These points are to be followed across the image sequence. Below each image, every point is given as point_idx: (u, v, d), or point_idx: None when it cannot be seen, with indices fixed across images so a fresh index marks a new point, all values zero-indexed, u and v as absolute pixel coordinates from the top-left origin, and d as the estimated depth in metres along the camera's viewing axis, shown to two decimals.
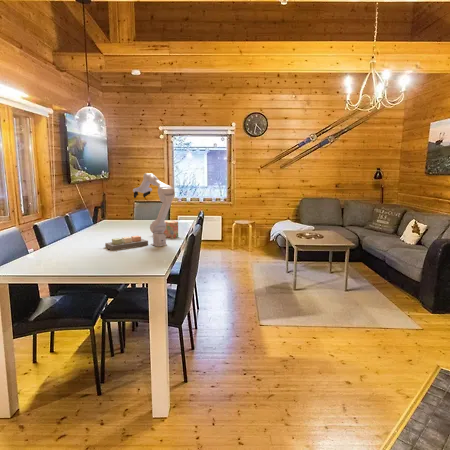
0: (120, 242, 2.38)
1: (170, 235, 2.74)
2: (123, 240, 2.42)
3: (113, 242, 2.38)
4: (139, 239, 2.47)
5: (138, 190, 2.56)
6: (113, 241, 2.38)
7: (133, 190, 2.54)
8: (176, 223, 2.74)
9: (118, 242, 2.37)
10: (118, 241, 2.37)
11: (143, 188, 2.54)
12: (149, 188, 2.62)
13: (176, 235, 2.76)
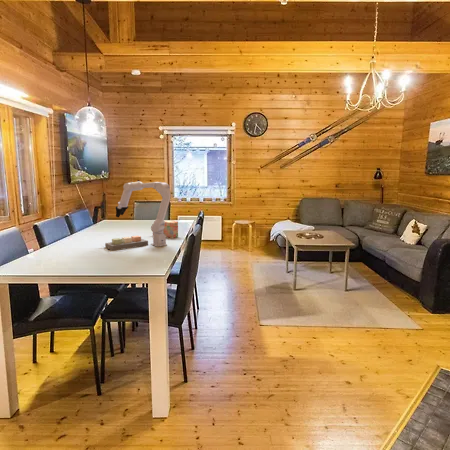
0: (120, 242, 2.38)
1: (170, 235, 2.74)
2: (123, 240, 2.42)
3: (113, 242, 2.38)
4: (139, 239, 2.47)
5: None
6: (113, 241, 2.38)
7: (119, 207, 2.44)
8: (176, 223, 2.74)
9: (118, 242, 2.37)
10: (118, 241, 2.37)
11: (127, 201, 2.48)
12: None
13: (176, 235, 2.76)
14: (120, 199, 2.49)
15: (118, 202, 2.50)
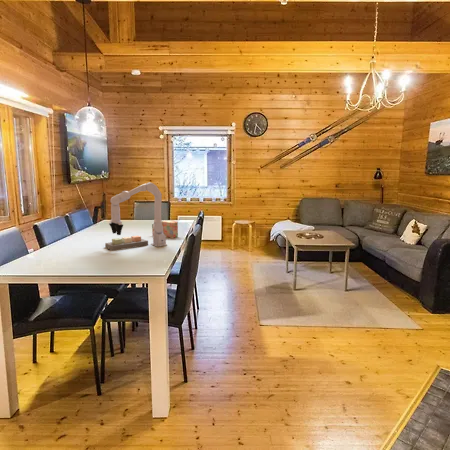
0: (120, 242, 2.38)
1: (170, 235, 2.74)
2: (123, 240, 2.42)
3: (113, 242, 2.38)
4: (139, 239, 2.47)
5: None
6: (113, 241, 2.38)
7: (120, 223, 2.32)
8: (176, 223, 2.74)
9: (118, 242, 2.37)
10: (118, 241, 2.37)
11: None
12: None
13: (176, 235, 2.76)
14: (112, 217, 2.34)
15: (111, 221, 2.35)
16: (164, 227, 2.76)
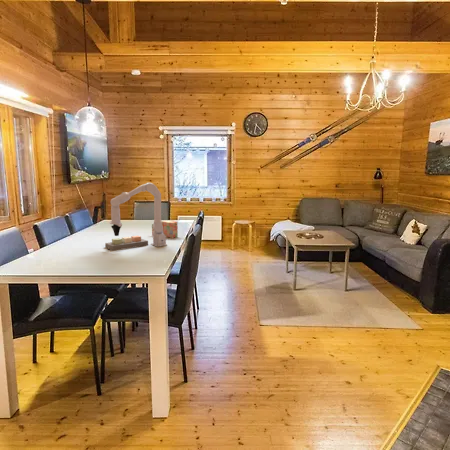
0: (120, 242, 2.38)
1: (169, 235, 2.74)
2: (123, 240, 2.42)
3: (113, 242, 2.38)
4: (139, 239, 2.47)
5: None
6: (113, 241, 2.38)
7: (120, 224, 2.32)
8: (175, 223, 2.74)
9: (118, 242, 2.37)
10: (118, 241, 2.37)
11: None
12: (111, 222, 2.41)
13: (175, 235, 2.76)
14: (112, 218, 2.34)
15: (111, 222, 2.35)
16: (164, 227, 2.76)
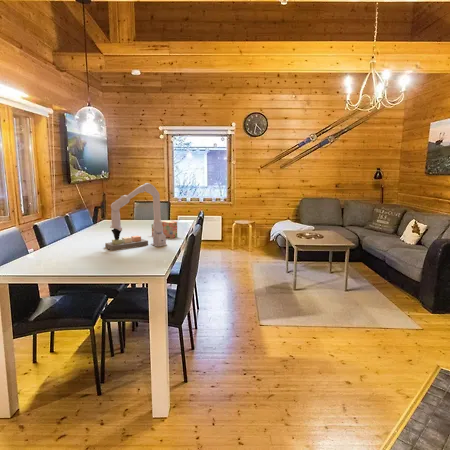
0: (120, 243, 2.38)
1: (169, 235, 2.74)
2: (123, 240, 2.42)
3: (113, 243, 2.38)
4: (139, 239, 2.47)
5: None
6: (113, 242, 2.38)
7: (120, 229, 2.32)
8: (175, 223, 2.74)
9: (118, 243, 2.38)
10: (118, 242, 2.37)
11: None
12: (112, 226, 2.42)
13: (175, 235, 2.75)
14: (112, 222, 2.35)
15: (111, 227, 2.35)
16: (163, 227, 2.75)
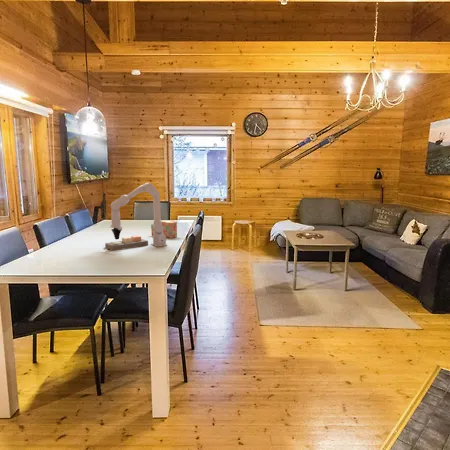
0: None
1: (169, 235, 2.74)
2: (123, 240, 2.42)
3: None
4: (139, 239, 2.47)
5: (119, 227, 2.35)
6: None
7: (120, 228, 2.32)
8: (175, 223, 2.74)
9: None
10: None
11: None
12: (112, 225, 2.42)
13: (175, 235, 2.75)
14: (112, 222, 2.35)
15: (111, 226, 2.35)
16: (163, 227, 2.75)
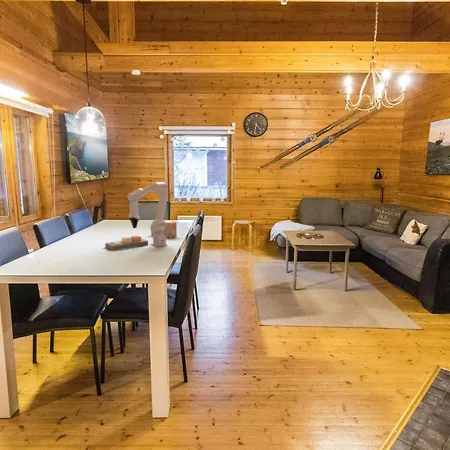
0: None
1: (168, 235, 2.73)
2: (123, 240, 2.42)
3: None
4: (139, 239, 2.47)
5: None
6: None
7: (138, 217, 2.50)
8: (174, 223, 2.74)
9: None
10: None
11: (137, 210, 2.55)
12: (129, 215, 2.59)
13: (174, 235, 2.75)
14: (131, 212, 2.53)
15: (129, 216, 2.53)
16: None
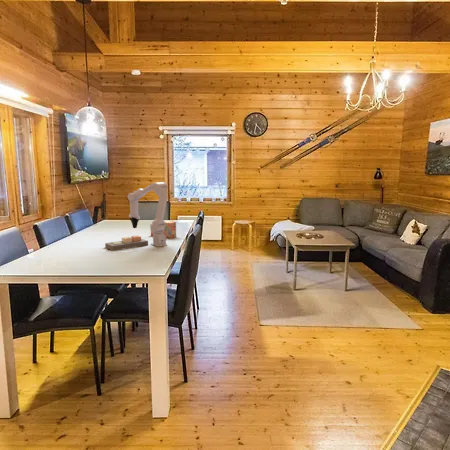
0: None
1: (168, 235, 2.73)
2: (123, 240, 2.42)
3: None
4: (139, 239, 2.47)
5: None
6: None
7: (139, 217, 2.50)
8: (174, 223, 2.74)
9: None
10: None
11: None
12: (130, 215, 2.60)
13: (174, 235, 2.75)
14: (131, 212, 2.53)
15: (130, 215, 2.53)
16: None
